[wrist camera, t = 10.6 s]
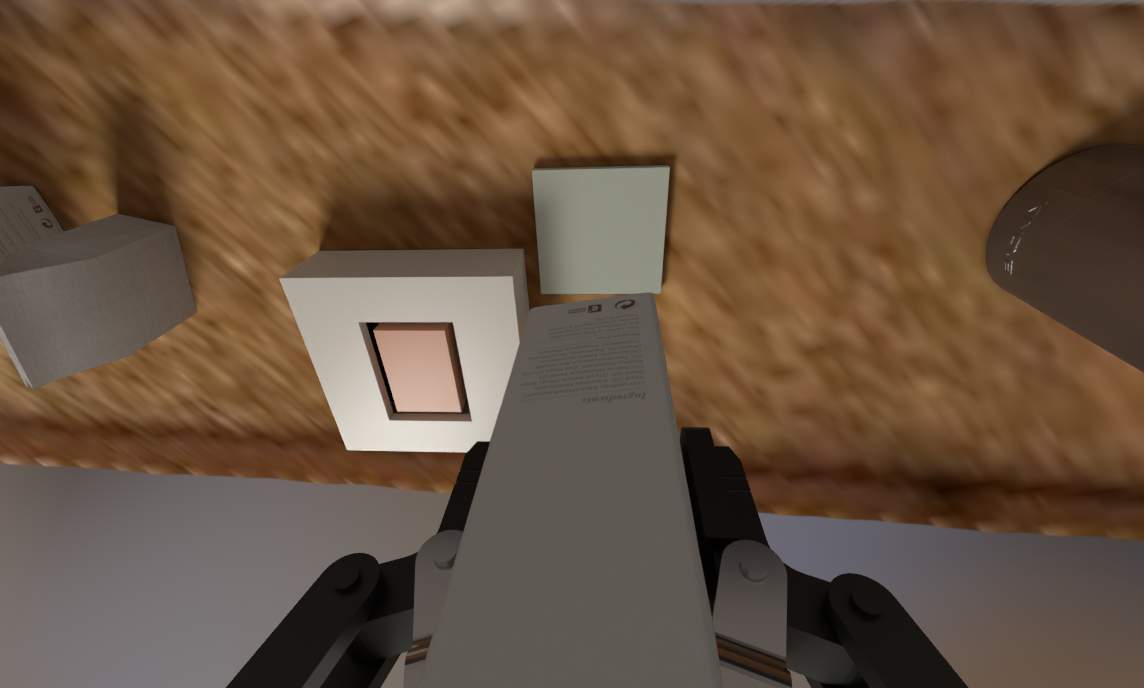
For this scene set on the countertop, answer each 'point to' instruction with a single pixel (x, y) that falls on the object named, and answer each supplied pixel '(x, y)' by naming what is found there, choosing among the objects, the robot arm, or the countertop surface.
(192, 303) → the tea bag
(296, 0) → the countertop surface
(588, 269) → the mat
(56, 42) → the countertop surface
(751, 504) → the robot arm
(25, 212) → the supplement box
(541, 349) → the skincare box
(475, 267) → the frame
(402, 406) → the button
